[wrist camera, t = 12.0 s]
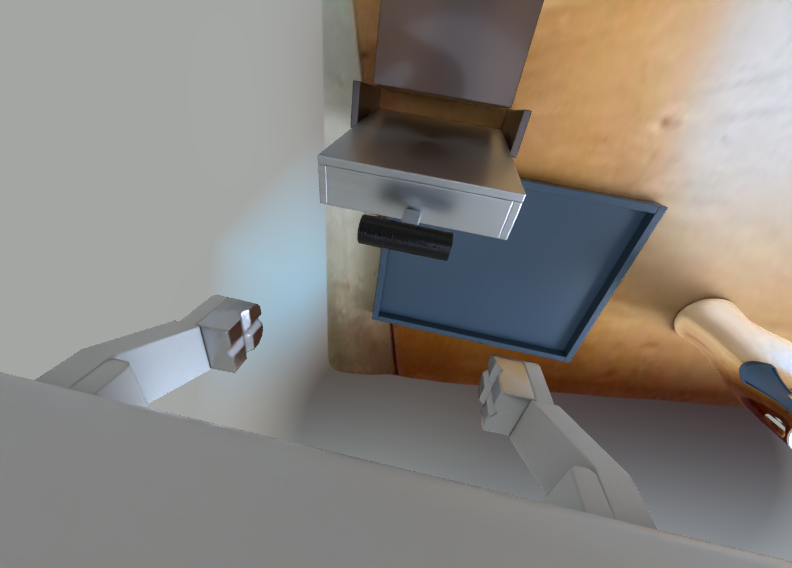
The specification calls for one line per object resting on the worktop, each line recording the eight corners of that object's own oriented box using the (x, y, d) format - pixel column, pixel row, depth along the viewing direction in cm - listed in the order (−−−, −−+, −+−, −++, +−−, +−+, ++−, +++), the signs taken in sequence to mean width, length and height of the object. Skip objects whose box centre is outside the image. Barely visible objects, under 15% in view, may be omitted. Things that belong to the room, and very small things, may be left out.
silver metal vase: (672, 299, 35) (799, 406, 22) (746, 289, 33) (932, 400, 20) (665, 344, 38) (773, 460, 25) (733, 337, 36) (887, 460, 24)
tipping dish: (376, 107, 28) (374, 144, 30) (288, 177, 14) (295, 235, 16) (501, 129, 28) (490, 165, 30) (538, 226, 14) (511, 280, 16)
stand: (371, 124, 31) (350, 127, 25) (384, -17, 25) (361, -60, 19) (502, 148, 30) (516, 157, 24) (545, 8, 25) (579, -29, 18)
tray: (374, 312, 43) (371, 319, 42) (396, 154, 32) (394, 156, 31) (565, 354, 42) (569, 362, 40) (658, 203, 30) (668, 207, 29)
